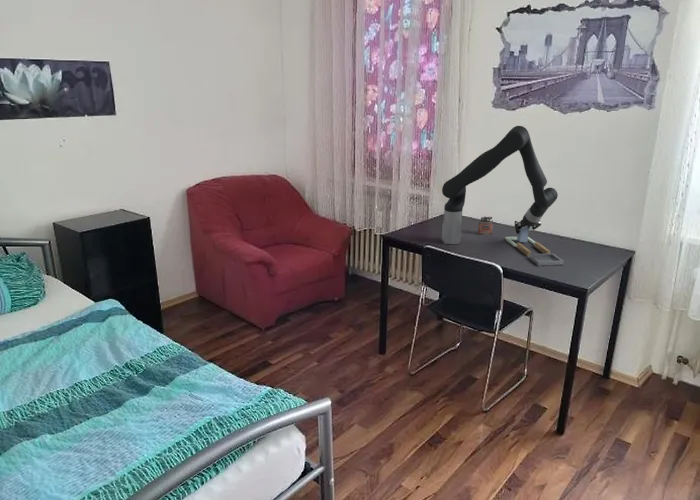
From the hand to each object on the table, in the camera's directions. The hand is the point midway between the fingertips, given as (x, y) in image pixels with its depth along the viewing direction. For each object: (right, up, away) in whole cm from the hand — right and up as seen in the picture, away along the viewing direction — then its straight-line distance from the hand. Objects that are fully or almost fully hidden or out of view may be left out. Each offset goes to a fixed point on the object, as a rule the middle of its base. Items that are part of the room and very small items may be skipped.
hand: (521, 232), depth 269 cm
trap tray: (+2, -15, -27) cm, 31 cm away
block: (0, -4, -1) cm, 5 cm away
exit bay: (0, -6, 0) cm, 6 cm away
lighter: (-15, -1, +16) cm, 22 cm away
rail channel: (+1, -10, -13) cm, 16 cm away
